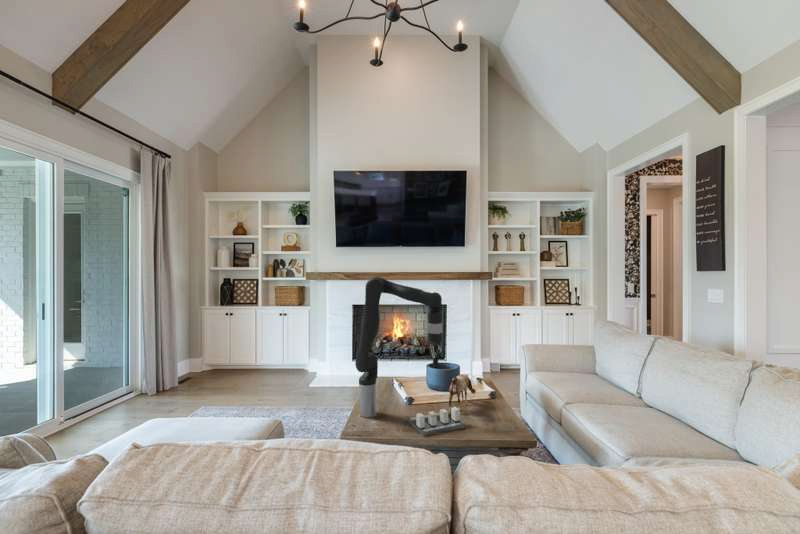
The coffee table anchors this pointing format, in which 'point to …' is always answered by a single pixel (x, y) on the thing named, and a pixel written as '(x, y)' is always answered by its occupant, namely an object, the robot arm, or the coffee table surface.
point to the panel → (436, 428)
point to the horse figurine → (460, 389)
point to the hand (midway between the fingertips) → (435, 364)
